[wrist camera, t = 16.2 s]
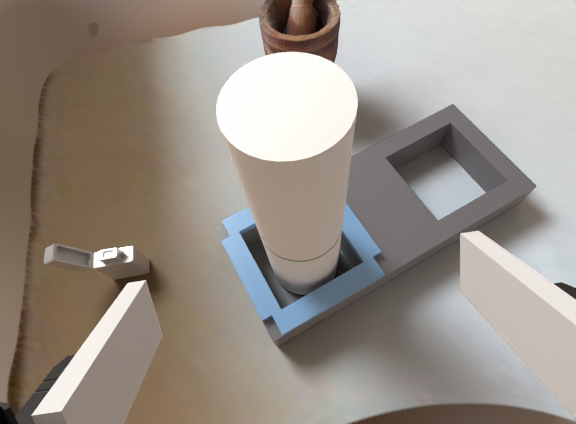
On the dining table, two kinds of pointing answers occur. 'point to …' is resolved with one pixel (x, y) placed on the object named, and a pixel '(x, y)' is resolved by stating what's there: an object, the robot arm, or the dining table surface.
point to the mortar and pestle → (300, 27)
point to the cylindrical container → (293, 158)
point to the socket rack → (384, 219)
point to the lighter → (99, 260)
